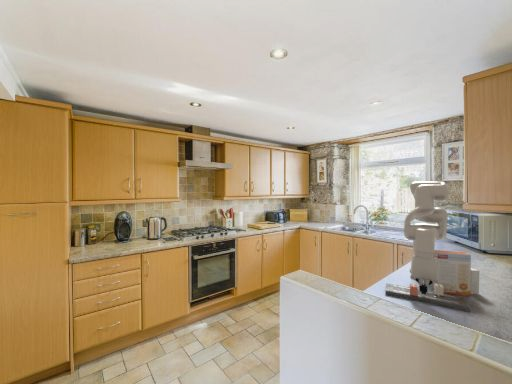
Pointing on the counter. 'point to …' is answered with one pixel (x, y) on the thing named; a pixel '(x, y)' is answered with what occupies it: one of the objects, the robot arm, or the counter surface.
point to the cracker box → (454, 272)
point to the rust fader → (413, 289)
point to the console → (428, 297)
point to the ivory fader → (438, 289)
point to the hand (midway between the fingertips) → (423, 293)
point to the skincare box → (474, 281)
